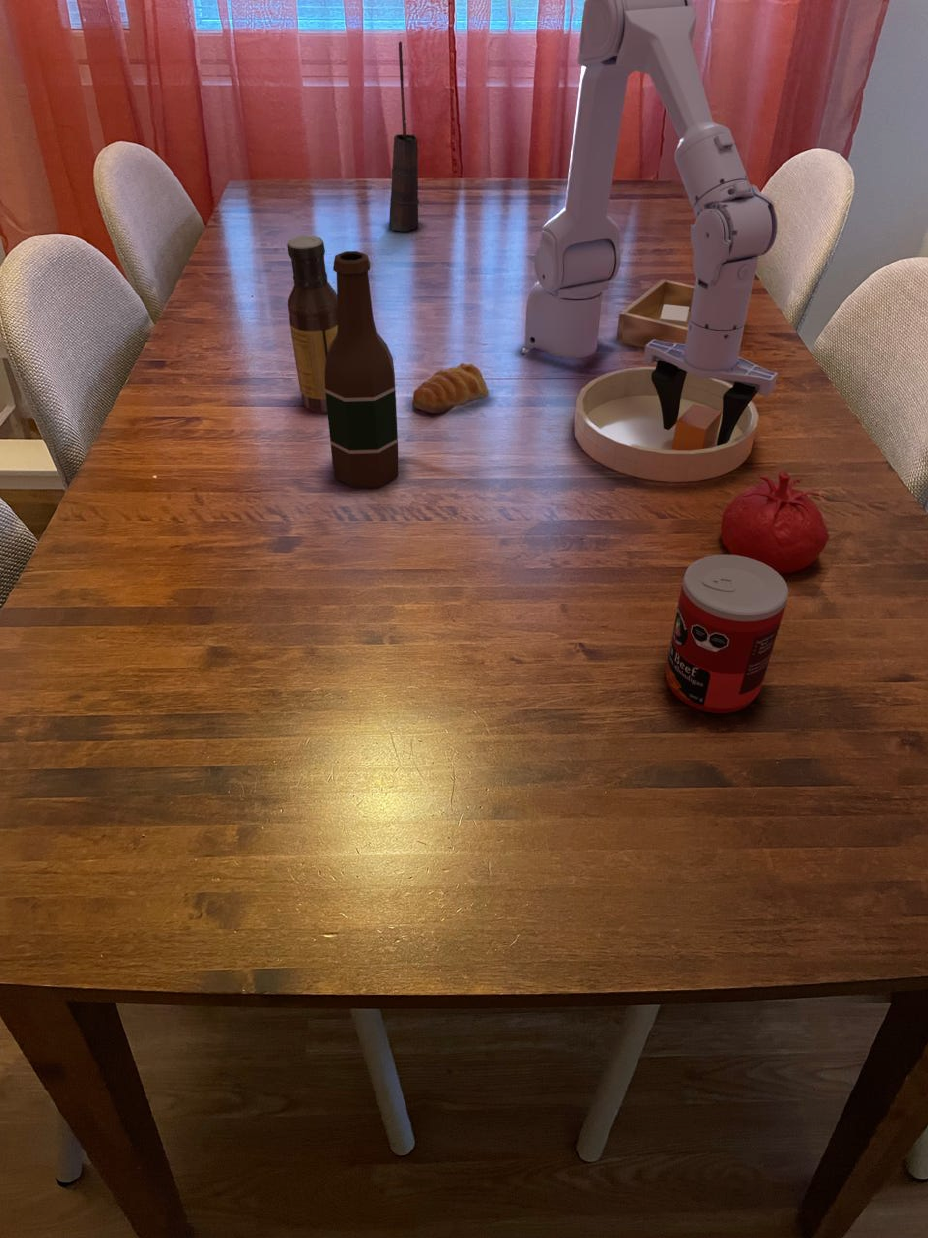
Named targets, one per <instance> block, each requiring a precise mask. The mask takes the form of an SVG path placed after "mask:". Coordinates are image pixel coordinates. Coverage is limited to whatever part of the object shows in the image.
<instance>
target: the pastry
mask: <svg viewBox="0 0 928 1238" xmlns="http://www.w3.org/2000/svg"><path fill="white" fill-rule="evenodd" d="M487 396H489V388H488V386H487V383H486V380H485V379H484V377H483V374H482V372H481V370H480V369H479V368H478V367H477V366H475V365H474V364H472V363H468V364H467V363H463V362H462V363H460V364H459V365H457V366H455V367H450V368H446V369H441V370H439V371H436V372H435V373H434V375H432V376H431V377H430V378H428V379H427V380H426V381H424V382H422V384H420V385H419V386H418V387H417V388H416V389H415V390H414V391H413V393H412V406H414V407H415V408H416V409H419V410H421V411H424V412H427V413H431V414H434V415H435V414H436V413H437V414H443V413H445V412H450V411H451V410H452V409H453V408H455V407H457V406H462V405H464V404H467V403H469V402H473V401H475V400H478V399H481V398H485V397H487Z"/></svg>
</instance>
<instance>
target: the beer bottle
mask: <svg viewBox="0 0 928 1238" xmlns="http://www.w3.org/2000/svg"><path fill="white" fill-rule="evenodd" d="M332 267H333V268H332V271H334V272H335V273H336V293H337V306H338V331H337V335H336V336H335V338H334V340H333V341H332V343H331V345H330V346H329V350H328V354H327V358H326V365H325V394H326V404H327V413H326V414H327V422H328V433H329V441H330V442H329V443H330V452H331V453H330V454H331V461H332V468H333V474H334V478H335V479H336V480H338V481H339V482H341V483H343V484H345V485H347V486H349V487H351V488H353V489H369V488H370V489H373V488H376V489H377V488H380V487H382V486H384V485H386V484H388V483H389V482H391V481H393V480H394V479H396V478H398V475H399V435H398V433H399V432H398V415H397V414H398V413H397V412H398V411H397V393H396V392H397V391H396V389H397V388H396V373H395V365H394V358H393V356H392V353H391V350H390V348H389V346H388V344H387V343H386V341H385V340H384V339H383V338H382V336H381V335H380V334H379V332H378V330H377V325H376V322H375V318H374V310H373V302H372V294H371V286H370V285H371V284H370V277H369V271H370V270H371V261H370V258H369V255H368V254H366V253H363V252H361V251H358V250H346V251H343V252H341V253H338V254H336V255H334V260H333V266H332Z"/></svg>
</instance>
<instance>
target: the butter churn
mask: <svg viewBox="0 0 928 1238" xmlns="http://www.w3.org/2000/svg"><path fill="white" fill-rule="evenodd" d="M403 58H404V57H403V42H402V41H401V40H400V41H399V42H398V59H399V60H398V61H399V79H400V95H401V98H400V99H401V120H402V121H401V122H402V134H401V133H400V134H399V133H397V134H395V135H394V137H393V152H392V168H391V189H390V203H389V216H388V217H389V218H388V219H389V220H388V227H390V229H391V231H396V232H405V233H407V232H410V231H412V230H416V229H417V228H419V203H420V201H419V200H420V199H419V151H418V150H419V147H418V141H419V140H418V137H417V136H416V134H414V133H413V134H409V133H408V134H407V123H406V120H407V118H406V107H405V105H406V104H405V103H406V102H405V87H404V86H405V84H404V80H405V79H404V61H403V60H404V59H403Z"/></svg>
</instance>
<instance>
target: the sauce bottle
mask: <svg viewBox="0 0 928 1238" xmlns="http://www.w3.org/2000/svg"><path fill="white" fill-rule="evenodd" d="M286 244H287V245H286V246H287V253H288V257H289V259H290V262H291V271H292V279H293V286H292V289H291V291H290V294H289V296H288V298H287V311H288V314H289V315H288V321H289V328H290V334H291V335H290V336H291V343H292V349H293V355H294V361H295V362H294V363H295V367H296V368H295V369H296V374H297V380H298V385H299V392H300V393H301V401H302V404H303V406H304V407H305V408H307V409H308V410H309V411H312V412H314V413H319V414H322V413H323V414H327V404H326V394H325V365H326V358H327V354H328V350H329V346H330V345H331V343H332V341H333V340H334V338H335V336H336V335H337V331H338V306H337V291H336V290H335V289H334V288H333V286H332V285H331V284H330V282H329V280H328V274H327V271H326V262H325V253H326V249H325V243H324V240H323V239H322V238H321V237H320V236H316V235H300V236H296V237H293V238H292V239H289V240H288V242H287V243H286Z"/></svg>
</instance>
